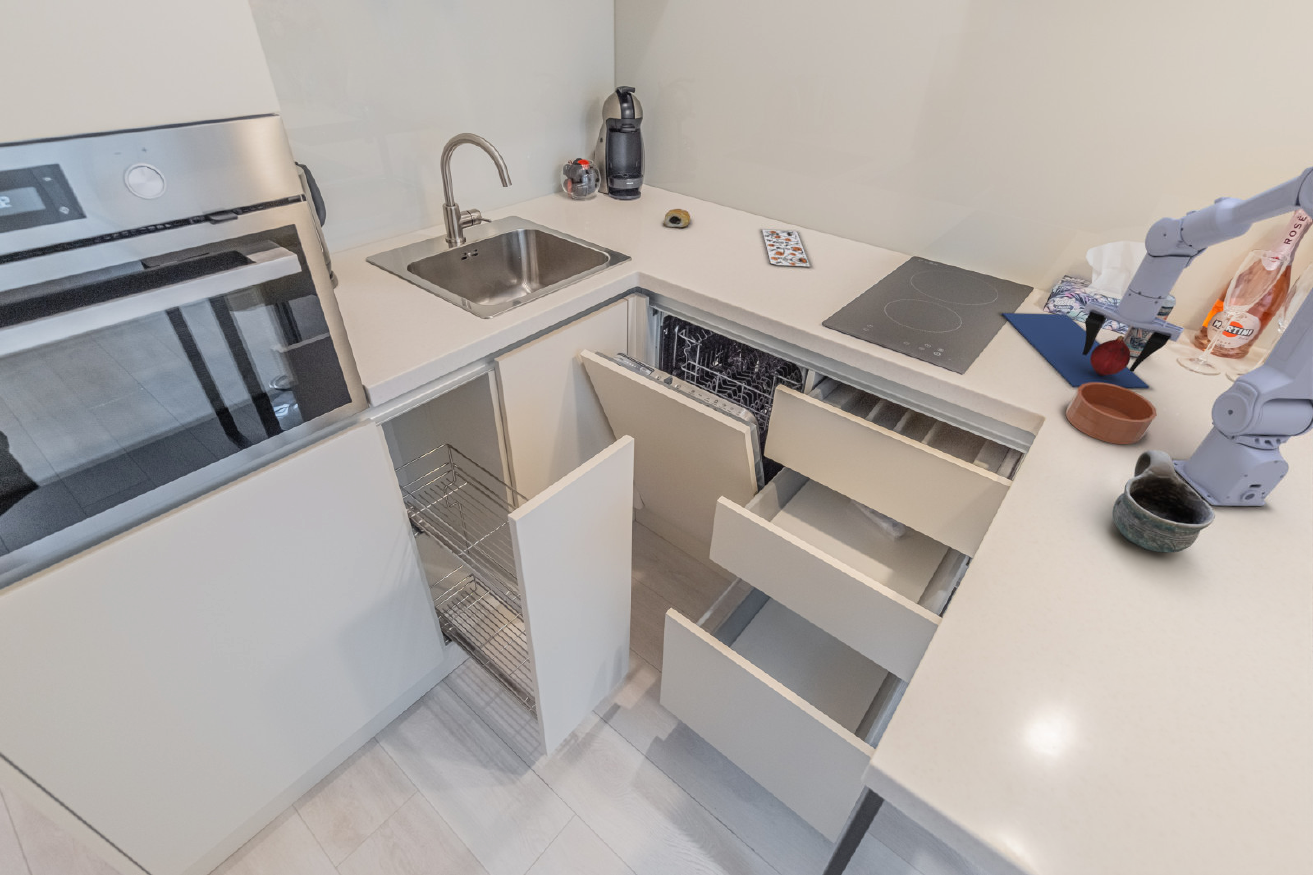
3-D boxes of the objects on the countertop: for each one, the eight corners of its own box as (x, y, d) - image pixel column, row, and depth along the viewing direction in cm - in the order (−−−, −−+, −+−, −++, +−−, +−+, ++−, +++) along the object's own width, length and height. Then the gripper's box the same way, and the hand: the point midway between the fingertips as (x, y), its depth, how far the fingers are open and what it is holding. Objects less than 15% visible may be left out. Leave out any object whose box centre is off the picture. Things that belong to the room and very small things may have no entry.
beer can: (1117, 354, 122) (1149, 297, 115) (1116, 343, 125) (1147, 288, 118) (1145, 360, 120) (1180, 303, 113) (1143, 350, 124) (1177, 294, 116)
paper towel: (810, 266, 150) (771, 264, 150) (809, 266, 150) (771, 264, 150) (796, 230, 169) (762, 229, 169) (796, 231, 169) (762, 229, 169)
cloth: (1148, 388, 112) (1149, 386, 112) (1072, 386, 112) (1073, 384, 112) (1065, 316, 134) (1066, 314, 134) (1002, 314, 134) (1002, 313, 134)
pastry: (670, 215, 176) (671, 201, 174) (693, 218, 175) (695, 204, 173) (662, 226, 169) (663, 212, 167) (686, 229, 168) (687, 215, 165)
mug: (1125, 563, 79) (1168, 506, 73) (1075, 495, 89) (1109, 440, 83) (1200, 566, 79) (1250, 510, 73) (1142, 498, 89) (1181, 443, 83)
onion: (1123, 385, 112) (1146, 347, 107) (1088, 381, 113) (1110, 342, 108) (1111, 369, 117) (1133, 331, 112) (1078, 365, 117) (1098, 327, 112)
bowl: (1158, 445, 99) (1173, 422, 96) (1088, 443, 99) (1102, 421, 96) (1116, 404, 108) (1129, 382, 105) (1052, 403, 107) (1063, 381, 105)
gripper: (1203, 298, 103) (1159, 368, 111) (1106, 271, 111) (1072, 339, 119) (1195, 311, 99) (1150, 383, 107) (1095, 282, 106) (1060, 351, 115)
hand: (1108, 361), depth 113 cm, fingers open, 7 cm apart
